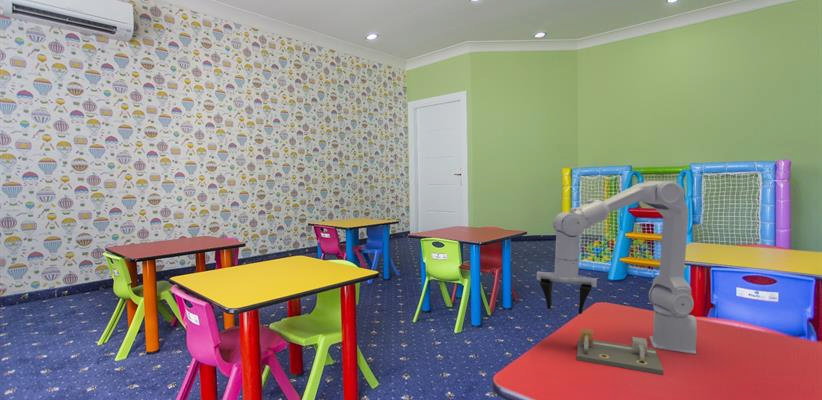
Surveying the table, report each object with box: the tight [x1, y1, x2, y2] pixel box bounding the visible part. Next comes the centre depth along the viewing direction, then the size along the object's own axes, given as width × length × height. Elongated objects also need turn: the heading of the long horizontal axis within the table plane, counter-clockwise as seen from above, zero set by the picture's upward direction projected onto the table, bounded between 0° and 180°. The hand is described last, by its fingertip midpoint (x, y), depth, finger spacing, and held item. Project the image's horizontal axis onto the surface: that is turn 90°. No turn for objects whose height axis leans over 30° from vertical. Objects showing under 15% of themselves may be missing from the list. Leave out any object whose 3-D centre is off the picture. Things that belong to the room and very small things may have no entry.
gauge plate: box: [576, 337, 664, 375], centre depth 102 cm, size 18×13×2 cm
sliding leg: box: [579, 327, 594, 353], centre depth 104 cm, size 3×8×3 cm, turn 156°
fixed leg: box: [631, 336, 648, 362], centre depth 99 cm, size 3×8×3 cm, turn 156°
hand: (564, 310), depth 108 cm, fingers open, 7 cm apart
